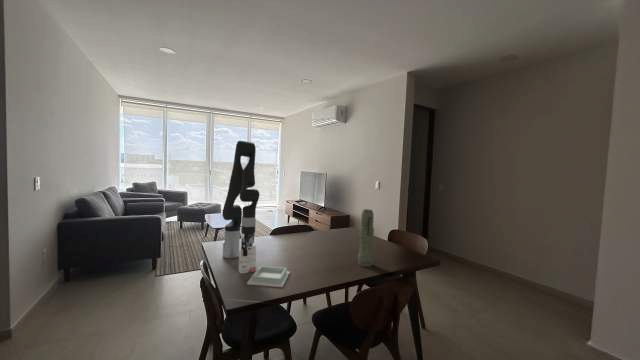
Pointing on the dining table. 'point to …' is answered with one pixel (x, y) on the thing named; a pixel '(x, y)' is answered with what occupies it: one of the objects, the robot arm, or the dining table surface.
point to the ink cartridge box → (247, 260)
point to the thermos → (366, 239)
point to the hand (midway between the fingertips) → (247, 253)
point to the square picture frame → (269, 276)
